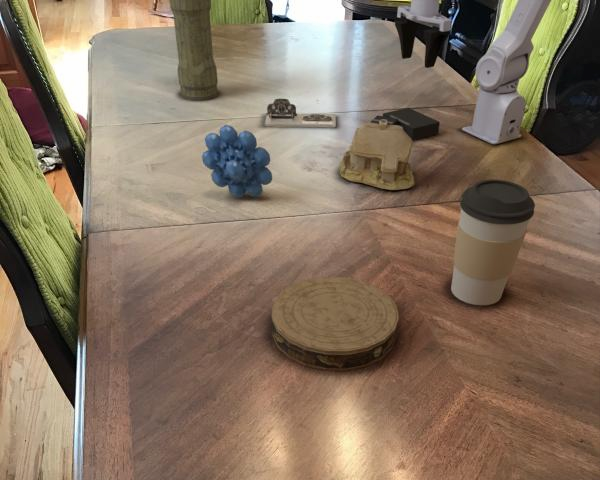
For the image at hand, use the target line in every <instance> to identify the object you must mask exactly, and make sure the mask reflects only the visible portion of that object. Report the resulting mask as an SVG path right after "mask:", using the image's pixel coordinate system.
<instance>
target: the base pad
mask: <svg viewBox="0 0 600 480" xmlns="http://www.w3.org/2000/svg"><path fill="white" fill-rule="evenodd" d="M382 116H384V117H391V118H397V119H398V123H397V125H399V126H401V127H402V128H403V130H404V132H405V133H406V134H407V135H408V136H409V137H410V138H411V139H412V141H413V142H414V141H418V140H421V139H424V138H425V139H426V138H429V137H433V136H436V135H439V129H440V124H441V122H440V121H439V120H436V119H434V118H432V117H430V116H428V115H425V114H423V113H421V112H419V111H417V110H415V109H413V108H411V107H406V108H405V107H404V108H401V109H397V110H392V111H387V112H383V113H382Z"/></svg>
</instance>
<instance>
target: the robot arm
mask: <svg viewBox="0 0 600 480" xmlns="http://www.w3.org/2000/svg"><path fill="white" fill-rule="evenodd" d="M551 2H552V0H517V1H516V4H515V6H514V7H513V10H512V12H511V15H510V17H509V19H508V21H507V23H506V25H505V28H504V29H503V31H502V32H501V33H500V34H499V35H498V37H497V38H495V40H494V41H493V42H492V43H491V44H490V46H489V49H488V51H486V53H485V54H484V55H483V56H482V57H480V58H479V60H478V62H477V64H476V67H475V79H476V82H477V84H478V93H477V98H476V102H475V109H474V113H473V119H472V124H471V125H468V126H464V127H462V129H461V130H462V131H463V132H465V133H467V134H469V135H471V136H474V137H476V138H478V139H480V140H482V141H484V142H486V143H489V144H490V145H498V144H501V143H505V142H509V141H512V140H516V139H520V138H521V137H522V134H521V133H520V132H521V128H522V123H523V121H524V116H525V112H526V108H527V107H526V106H527V102H526V98H525V97H524V96H523V95H521V94H520V93H519V91H518V86H519V83H520V80H521V79H522V78H524V77H525V75H526V74H527V72H528V69H529V67H530V59H531V55H532V52H533V50H534V43H533V41H532V39H533V37H534V35H535V33H536V31H537V29H538V28H539V25H540V23H541V21H542V19H543V17H544V16H545V13H546V12H547V10H548V8H549V6H550V4H551ZM440 3H441V0H410V6H408V5H401V6H397V14H396V18H399V20H396V21H394V27H395V29H396V31H397V35H398V39H399V44H400V50H401V51H400V53H401V59H402V60H405V59H411V58H412V55H413V52H414V47H415V40H416V36H417V34H418V33H417V32H418V30H419V27H420V24H421V25H424V26H427V27H430V28H429V29H424V30H423V37H424V43H425V45H424V46H425V48H424V49H425V50H424V51H425V52H424V68H426V69H428V68H434V67H435V65H436V62H437V59H438V57H439V54H440V53H441V49H442V47H443V46H444V44H445V42H446V41H447V39H448V38H449V36H450V35H451V26H452V19H450V18H449V17H448V18H447V17H446V16H444V15H443V14H441V13H440V12H439V10H440Z"/></svg>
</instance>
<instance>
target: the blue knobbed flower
mask: <svg viewBox="0 0 600 480" xmlns="http://www.w3.org/2000/svg"><path fill="white" fill-rule="evenodd" d="M218 132H219V134H218V133H214V132H210V133H208V134H206V136H205V138H204V143H205V146H206V148H207V150H205V151H204V152H202V155H201V159H202V163H203V165H204V166H205V167H206V168H207V169H209V170H212V172H211V174H210V176H211V181H212V183H214V185H215V186H217V187H219V188H225V187H228V192H229V193H230V194H231V196H232V197H235V198H239V199H240V198H243V197H245V195H246V193H247V194H248V195H249V196H251V197H253V198H258V197H259V196H261V195H262V194H263V186H268V185H269V184H271V183H272V181H273V173H272V171H271V170H270V169H269V168H268V167H267V166H269V165H270V163H271V154H270V153H269V152H268V150H267V149H266V148H264V147H261V146H257V145H258V142H257V141H258V140H257V138H256V136H255V135H254V134H253V133H252V132H251V131H249V130H242V131H241V132H239V133H238V132H237V130H236V129H235V128H234V126H232V125H229V124H225V125H222V126H221V127H220V128H219V131H218Z"/></svg>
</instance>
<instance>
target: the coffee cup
mask: <svg viewBox="0 0 600 480" xmlns="http://www.w3.org/2000/svg"><path fill="white" fill-rule="evenodd" d="M459 206H460V213H459V218H458V220H457V226H456V227H457V228H456V235H455V236H456V237H455V245H454V252H453V271H452V278H451V285H450V286H451V287H450V291H451V293H452V294H453V296H454V297H456V298H457V299H458V300H459V301H462V302H464V303H466V304H469V305H475V306H490V305H493V304H496V303H498V302H499V301H500V300H501V298H502V295H503V293H504V290H505V288H506V285H507V282H508V280H509V277H510V275H511V274H512V272H513V270H514V267H515V264H516V261H517V258H518V256H519V253H520V250H521V248H522V245H523V242H524V239H525V237H526V234H527V228H528V226H529V223H530V220H531V218H533V216H534V215H535V208H536V204H535V201H534V199H533V198H532V197H531V196H530V193H529V191H528V190H527V188H525V187H524V186H523V185H520V184H519V183H515V182H513V181H509V180H504V179H493V178H491V179H484V180H483V179H482V180H480V181H477V182H475V183H474V184H473V186H471V187H468V188H467V189H465V190H464V191H463V192H462V195H461V199H460V202H459Z"/></svg>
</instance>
